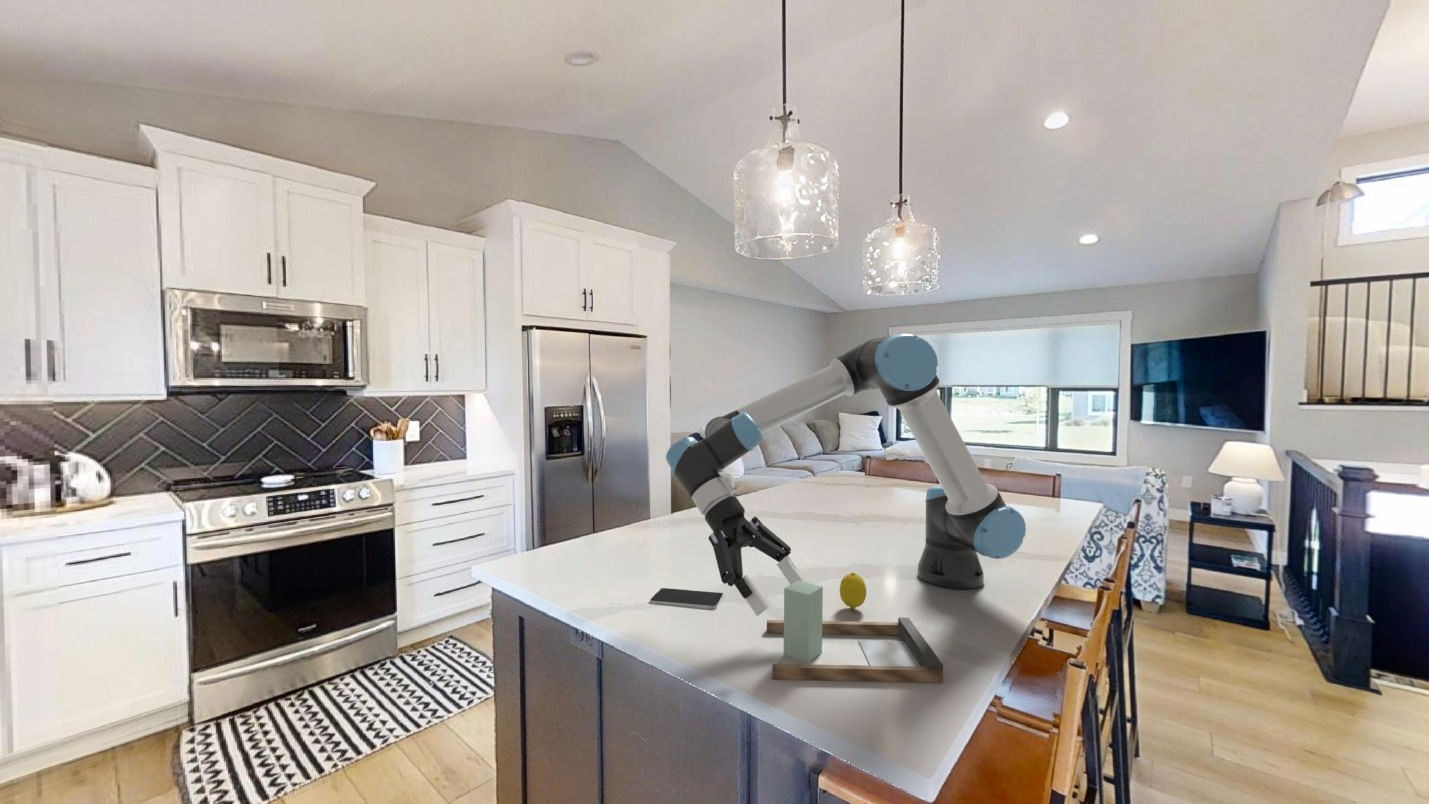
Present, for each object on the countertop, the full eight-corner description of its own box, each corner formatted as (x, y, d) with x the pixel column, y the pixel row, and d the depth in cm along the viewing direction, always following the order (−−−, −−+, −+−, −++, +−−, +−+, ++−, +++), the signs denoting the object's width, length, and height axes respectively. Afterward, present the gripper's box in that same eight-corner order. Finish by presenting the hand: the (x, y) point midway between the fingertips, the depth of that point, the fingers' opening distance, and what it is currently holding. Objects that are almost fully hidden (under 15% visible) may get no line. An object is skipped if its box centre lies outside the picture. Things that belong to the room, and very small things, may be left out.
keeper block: (797, 644, 105) (798, 580, 105) (822, 652, 102) (822, 586, 102) (783, 654, 101) (784, 588, 101) (808, 663, 98) (809, 595, 98)
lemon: (851, 616, 117) (851, 578, 117) (834, 607, 122) (834, 570, 122) (871, 611, 120) (872, 574, 120) (853, 602, 125) (854, 566, 125)
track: (908, 632, 110) (908, 617, 110) (942, 682, 92) (943, 664, 92) (766, 630, 111) (766, 615, 111) (772, 679, 93) (772, 661, 93)
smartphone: (661, 587, 132) (723, 592, 129) (661, 592, 132) (723, 597, 129) (649, 600, 124) (715, 606, 121) (649, 605, 124) (715, 611, 121)
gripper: (744, 506, 123) (804, 590, 114) (665, 530, 104) (730, 633, 95) (765, 485, 120) (828, 570, 111) (687, 505, 100) (757, 610, 91)
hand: (783, 599), depth 103 cm, fingers open, 13 cm apart
